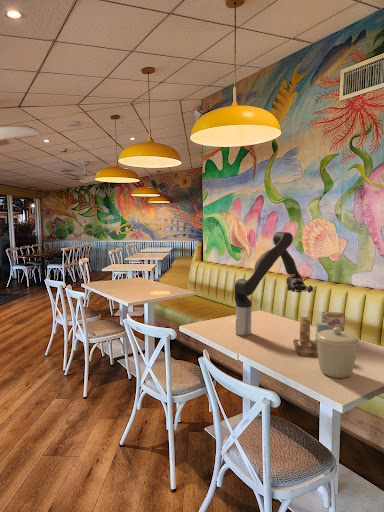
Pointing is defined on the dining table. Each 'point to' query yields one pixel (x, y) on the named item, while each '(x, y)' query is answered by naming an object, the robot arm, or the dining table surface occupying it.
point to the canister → (336, 352)
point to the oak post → (304, 330)
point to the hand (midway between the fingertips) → (301, 290)
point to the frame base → (312, 348)
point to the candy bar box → (334, 320)
